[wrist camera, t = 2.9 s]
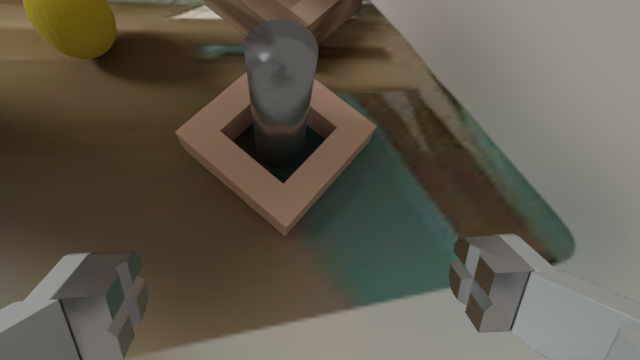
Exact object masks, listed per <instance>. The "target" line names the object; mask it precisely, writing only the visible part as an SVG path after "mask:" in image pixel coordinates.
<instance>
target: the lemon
mask: <svg viewBox="0 0 640 360" xmlns="http://www.w3.org/2000/svg"><path fill="white" fill-rule="evenodd" d="M23 4H24V8H25V11H26V13H27V15H28V17H29V19H30V21H31V23H32V24H33V26H34V27H35V29H36V30H37V32H38V33H39V34H40V36H41V37H42V38H43V39H44V40H45V41H46V42H48V43H49V44H50V45H51V46H53V47H54V48H55V49H57V50H58V51H60V52H62V53H64V54H66V55H69V56H71V57H75V58H81V59H90V58H95V57H98V56H101V55H103V54H104V53H106V52H107V51H108V50H109V49H110V48H111V47H112V45H113V43H114V41H115V37H116V23H115V18H114V15H113V12H112V10H111V8H110V6H109V5H108V3H107V1H106V0H23Z"/></svg>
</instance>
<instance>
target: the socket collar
mask: <svg viewBox="0 0 640 360" xmlns="http://www.w3.org/2000/svg"><path fill="white" fill-rule="evenodd" d="M252 123H253V120H252V112H251V104H250V95H249V87H248V79H247V72H246V73H245V74H243V75H242V76H241V77H240V78H239V79H237V80H236V81H235V82H234V83H233V84H231V85H230V86H229V87H228V88H227V89H225V90H224V91H223V92H222V93H221V94H219V95H218V96H217V97H216V98H215V99H213V100H212V101H211V102H210V103H209V104H208V105H206V106H205V107H204V108H203V109H202V110H200V111H199V112H198V113H197V114H196V115H194V116H193V117H192V118H191V119H190V120H188V121H187V122H186V123H185V124H184V125H182V126H181V127H180V128H179V129H178V130H176V131H175V133H176V135H177V137H178V139H179V141H180V143H181V144H182V146H183V148H184V150H185V151H187V152H188V153H189V154H190V155H191V156H192V157H194V158H195V159H196V160H197V161H198V162H199V163H200V164H202V165H203V166H204V167H205V168H206V169H207V170H209V171H210V172H211V173H212V174H213V175H214V176H215V177H217V178H218V179H219V180H220V181H221V182H222V183H224V184H225V185H226V186H227V187H228V188H229V189H231V190H232V191H233V192H234V193H235V194H236V195H237V196H239V197H240V198H241V199H242V200H243V201H244V202H246V203H247V204H248V205H249V206H250V207H251V208H253V209H254V210H255V211H256V212H257V213H258V214H259V215H261V216H262V217H263V218H264V219H265V220H266V221H268V222H269V223H270V224H271V225H272V226H273V227H274V228H276V229H277V230H278V231H279V232H280V233H281V234H283V235H284V236H286V235H287V234H288V233H289V232H290V230H291V229H292V228H293V227H294V226H295V225H296V224H297V223H298V221H299V220H300V219H301V218H302V217H303V216H304V215H305V214H306V212H307V211H308V210H309V209H310V208H311V207H312V206H313V205H314V203H315V202H316V201H317V200H318V199H319V198H320V197H321V196H322V195H323V193H324V192H325V191H326V190H327V189H328V188H329V187H330V186H331V184H332V183H333V182H334V181H335V180H336V179H337V178H338V177H339V175H340V174H341V173H342V172H343V171H344V170H345V169H346V168H347V166H348V165H349V164H350V163H351V162H352V161H353V160H354V159H355V157H356V156H357V155H358V154H359V153H360V152H361V151H362V150H363V148H364V147H365V146H366V145H367V144H368V143H369V141H370V139H371V137H372V135H373V133H374V131H375V129H376V128H377V126H376V125H375V124H373V123H372V122H371V121H369V120H368V119H367V118H365V117H364V116H363V115H362V114H360V113H359V112H358V111H356V110H355V109H354V108H352V107H351V106H350V105H348V104H347V103H346V102H345V101H343V100H342V99H341V98H339V97H338V96H337V95H335V94H334V93H333V92H331V91H330V90H329V89H328V88H326V87H325V86H324V85H322V84H321V83H320V82H318V81H317V80H316V79H315V78H314V83H313V89H312V96H311V102H310V108H309V114H308V121H307V125H308V126H309V127H310V128H312V129H313V130H314V131H315V132H317V133H318V134H319V135H321V136H322V137H323V138H324V139H326V140H325V141H324V142H323V143H322V144H321V145H320V146H319V147H318V148H317V149H316V150H315V151H314V152H313V153H312V154H311V156H310V157H309V158H308V159H307V160H306V161H305V162H304V163H303V164H302V165H301V166H300V167H299V168H298V169H297V170H296V171H295V172H294V173H293V174H292V175H291V176H290V177H289V178H288V180H287V181H286V182H285V183H284V184H283V183H282V182H280V181H279V180H278V179H277V178H276V177H274V176H273V175H272V174H271V173H270V172H268V171H267V170H266V169H265V168H264V167H262V166H261V165H260V164H259V163H258V162H256V161H255V160H254V159H253V158H252V157H250V156H249V155H248V154H247V153H246V152H245V151H243V150H242V149H241V148H240V147H239V146H237V145H236V144H235V143H234V142H233V140H234V139H236V138H237V137H238V136H239V135H240V134H241V133H242V132H243V131H244V130H245V129H246V128H248V127H249V126H250V125H251V124H252Z"/></svg>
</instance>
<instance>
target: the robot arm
mask: <svg viewBox="0 0 640 360" xmlns="http://www.w3.org/2000/svg"><path fill="white" fill-rule="evenodd" d="M454 252H455V254H456V256H457V258H456V259H455V260H454V261H453V262H452V263H451V265H450V271H449V281H450V286H451V289H452V292H453V294H454V295H455V297H456V298H457V300H459V301H460V302H462V303H464V304H465V305H467V307H466V314H467V315H468V317H469V319H470V320H471V322H472V323H473V324H474V326H475V328H476V329H477V331H478V332H501V331H512V332H511V333H513V334H514V335H515V336H516V337H518V338H519V339H521V340H522V341H523V342H525V343H526V344H527V345H529V346H530V347H531V348H533V349H534V350H536V351H537V352H538V353H540V354H541V355H542V356H544V357H545V358H547V359H548V360H640V303H639V302H637V301H635V300H632V299H630V298H628V297H625V296H623V295H620V294H618V293H616V292H613V291H611V290H609V289H606V288H604V287H601V286H599V285H597V284H594V283H592V282H590V281H587V280H585V279H582V278H580V277H578V276H575V275H573V274H571V273H568V272H566V271H563V270H556V269H555V268H554V267H553V266H551V265H550V264H549V263H548V262H547V261H546V260H545V259H544V258H542V257H541V256H540V255H539V254H538V253H537V252H536V251H535V250H533V249H532V248H531V247H530V246H529V245H528V244H527V243H526V242H524V241H523V240H522V239H521V238H520V237H519V236H517V235H515V234H501V235H493V236H476V237H460V238H458V239H457V241H456V242H455V246H454ZM141 267H142V263H141V260H140V256H139V254H137V253H136V252H103V253H75V254H68V255H65V256H64V257H63V258H62V259H61V260H60V261H59V262H58V263H57V264H56V265H55V267H54V268H53V269H52V270H51V271H50V272H49V273H48V274H47V275H46V277H45V278H44V279H43V280H42V281H41V282H40V283H39V284H38V285H37V286H36V288H35V289H34V290H33V291H32V292H31V293H30V294H29V295H28V296H27V298H26V299H25V300H24V301H21V302H14V303H12V304H10V305H8V306H6V307H4V308H3V309H1V310H0V360H124V358H125V356H126V353H127V351H128V349H129V347H130V345H131V342H132V340H133V338H134V336H135V335H134V331H133V326H135V325H136V324H137V323H138V322H140V321H141V320H142V318H143V315H144V313H145V310H146V304H147V299H148V297H147V286H146V281H145V280H144V279H143V278H142V277H140V276H139V275H138V273H139V271H140V269H141Z"/></svg>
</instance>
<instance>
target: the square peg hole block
mask: <svg viewBox="0 0 640 360" xmlns="http://www.w3.org/2000/svg"><path fill="white" fill-rule="evenodd" d="M204 1H205V5H206V6H207V7H208V8H210V9H211V10H212V11H214V12H215V13H216V14H217V15H219V16H220V17H221V18H223V19H224V20H225V21H226V22H228V23H229V24H230V25H232V26H233V27H234V28H236V29H237V30H238V31H239V32H241V33H242V34H243V35H245V36H247V35H248V33H249V32H250V30H251V29H252V28H254V27H255V26H256V25H258V24H260V23H262V22H264V21H268V20H273V19H285V20H290V21H294V22H296V23H299V24H301V25H302V26H304V27H305V28H307V29H308V30H309V31H310V32H311V33H312V34H313V36H314V37H315V39H316V41H317V44H318V46H319V45H320V44H321V43H322V42H323V41H324V40H325V39H326V38H328V37H329V36H330V35H331V34H332V33H333V32H334V31H335V30H337V29H338V28H339V27H340V26H341V25H342V24H343V23H344V22H346V21H347V20H348V19H349V18H350V17H351V16H352V15H353V14H355V13H356V12H357V11H358V10H359V9H360V8H361V4H362V0H204Z"/></svg>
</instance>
